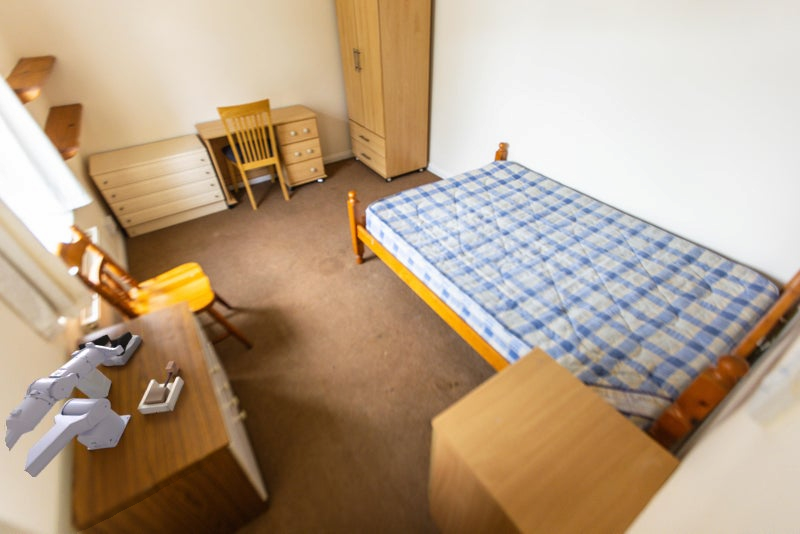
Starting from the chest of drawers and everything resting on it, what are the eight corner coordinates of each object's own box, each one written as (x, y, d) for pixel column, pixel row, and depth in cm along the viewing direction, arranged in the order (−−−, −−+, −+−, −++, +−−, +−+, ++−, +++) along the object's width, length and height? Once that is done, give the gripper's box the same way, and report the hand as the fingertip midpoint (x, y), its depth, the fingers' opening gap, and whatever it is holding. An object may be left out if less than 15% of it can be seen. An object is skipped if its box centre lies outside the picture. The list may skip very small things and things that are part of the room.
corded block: (167, 406, 110) (160, 400, 107) (151, 408, 110) (144, 401, 107) (184, 367, 121) (178, 360, 118) (169, 368, 121) (163, 361, 118)
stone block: (102, 369, 124) (126, 366, 123) (92, 361, 121) (116, 357, 120) (124, 342, 134) (146, 339, 132) (114, 335, 131) (137, 331, 129)
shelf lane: (172, 410, 110) (167, 405, 107) (143, 414, 109) (137, 408, 107) (184, 382, 117) (179, 376, 115) (156, 385, 117) (151, 379, 114)
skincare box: (97, 386, 117) (74, 366, 109) (112, 381, 118) (90, 361, 110) (93, 401, 113) (68, 382, 105) (108, 396, 114) (84, 377, 106)
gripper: (97, 350, 94) (134, 322, 106) (50, 356, 95) (91, 327, 108) (110, 370, 97) (144, 341, 109) (64, 376, 98) (103, 346, 111)
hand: (119, 335), depth 109 cm, fingers open, 7 cm apart
